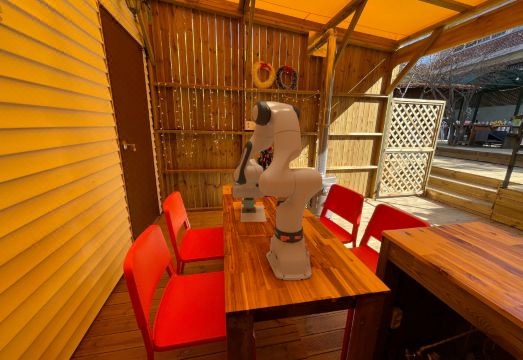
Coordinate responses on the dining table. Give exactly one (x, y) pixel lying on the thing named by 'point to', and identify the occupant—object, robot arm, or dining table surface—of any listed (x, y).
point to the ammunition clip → (281, 200)
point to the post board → (253, 214)
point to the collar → (248, 202)
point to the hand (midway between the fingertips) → (248, 203)
